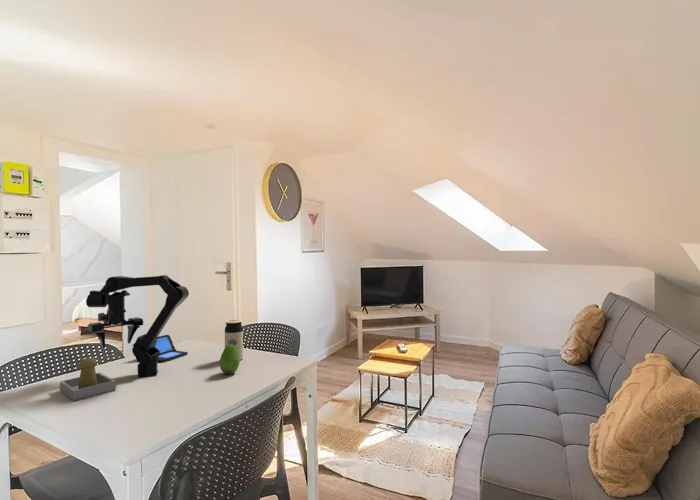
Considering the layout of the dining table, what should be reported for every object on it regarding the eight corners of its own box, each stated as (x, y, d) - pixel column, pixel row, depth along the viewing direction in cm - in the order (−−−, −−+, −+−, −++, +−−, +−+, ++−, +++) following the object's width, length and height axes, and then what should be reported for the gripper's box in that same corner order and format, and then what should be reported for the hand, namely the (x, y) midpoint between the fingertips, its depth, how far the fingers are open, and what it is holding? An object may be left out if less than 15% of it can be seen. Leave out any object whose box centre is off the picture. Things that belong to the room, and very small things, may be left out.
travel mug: (229, 356, 178) (229, 319, 178) (245, 357, 177) (245, 319, 177) (221, 361, 170) (221, 322, 171) (238, 362, 169) (238, 322, 169)
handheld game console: (162, 363, 169) (162, 343, 169) (141, 360, 174) (141, 340, 174) (189, 354, 184) (189, 335, 184) (168, 352, 189) (168, 333, 189)
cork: (87, 392, 132) (87, 361, 132) (73, 391, 133) (73, 360, 133) (102, 386, 138) (102, 356, 138) (88, 385, 139) (88, 355, 139)
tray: (59, 390, 135) (59, 381, 136) (99, 381, 145) (99, 372, 145) (73, 401, 126) (73, 391, 126) (115, 390, 136) (115, 380, 136)
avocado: (240, 375, 152) (240, 345, 152) (219, 377, 149) (219, 347, 149) (239, 369, 159) (239, 341, 159) (219, 371, 157) (219, 342, 157)
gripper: (132, 303, 165) (132, 338, 165) (82, 308, 150) (82, 347, 150) (143, 305, 158) (143, 342, 158) (92, 310, 143) (92, 351, 143)
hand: (116, 345), depth 153 cm, fingers open, 9 cm apart
